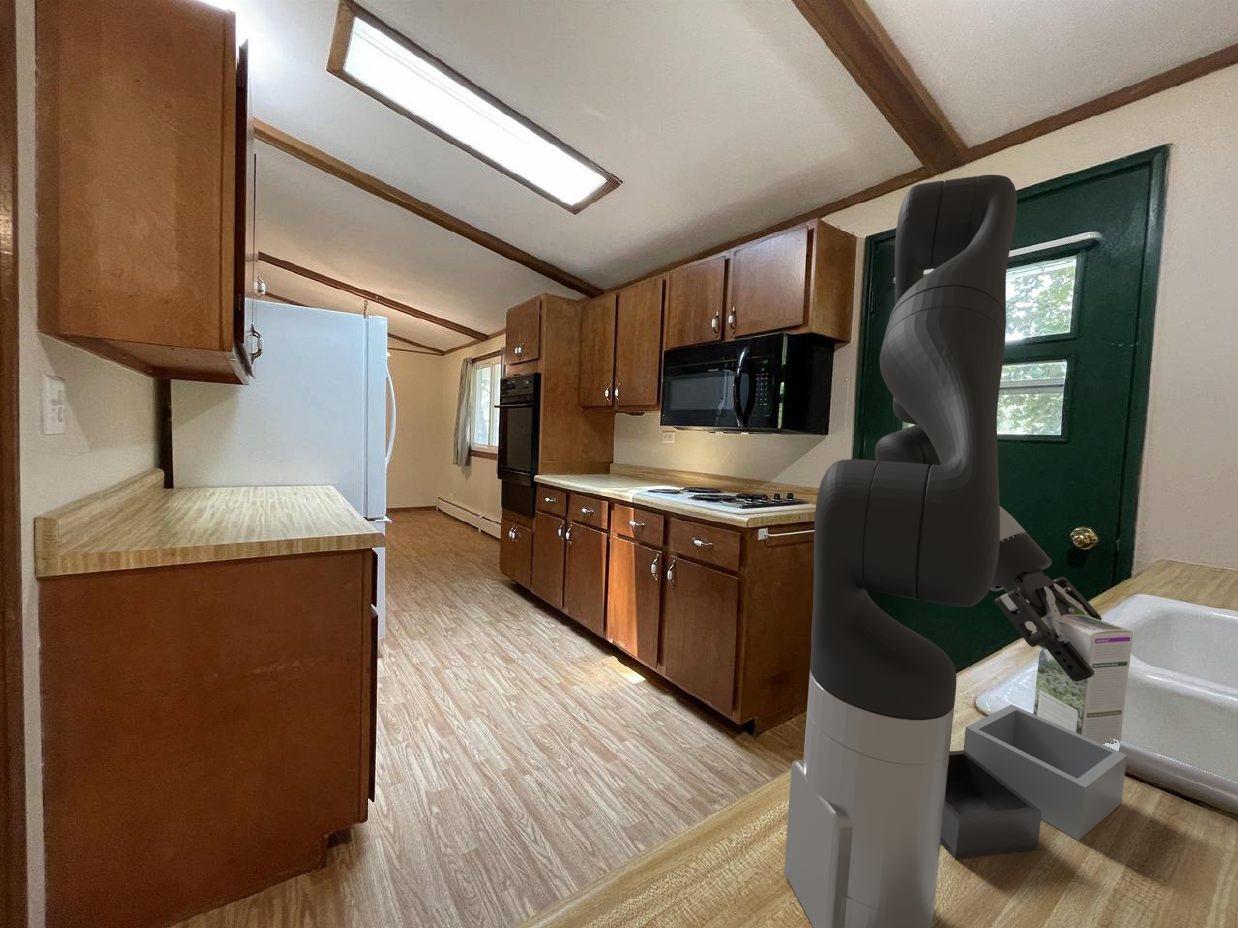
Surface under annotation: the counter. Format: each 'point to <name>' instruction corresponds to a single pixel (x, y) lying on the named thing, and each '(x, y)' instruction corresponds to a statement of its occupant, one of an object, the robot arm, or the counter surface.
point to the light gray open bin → (1050, 767)
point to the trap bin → (985, 812)
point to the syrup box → (1087, 680)
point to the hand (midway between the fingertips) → (1100, 670)
